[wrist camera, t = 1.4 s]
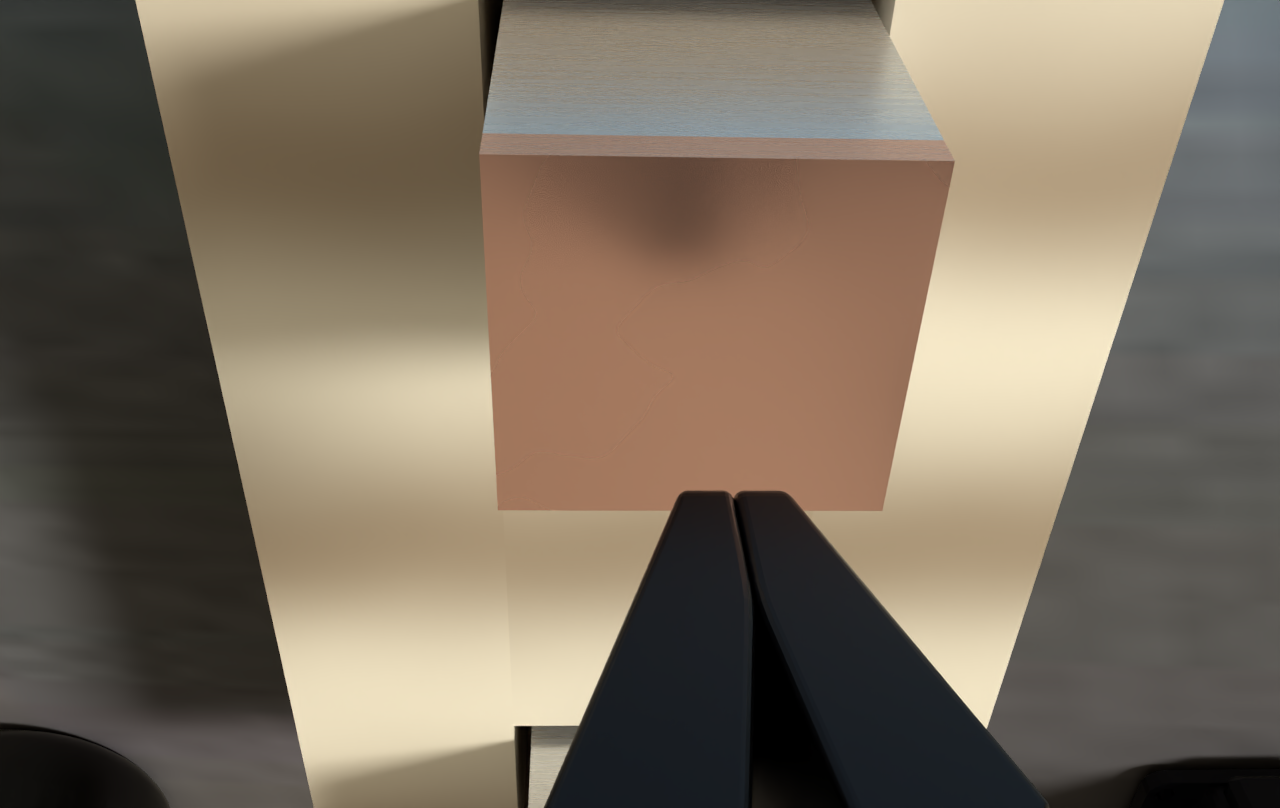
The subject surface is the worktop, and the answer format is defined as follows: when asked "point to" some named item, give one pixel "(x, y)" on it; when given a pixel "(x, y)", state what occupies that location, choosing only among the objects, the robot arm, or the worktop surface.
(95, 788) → the supplement bottle
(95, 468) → the worktop surface
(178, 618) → the worktop surface
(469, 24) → the socket block
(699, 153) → the peg
